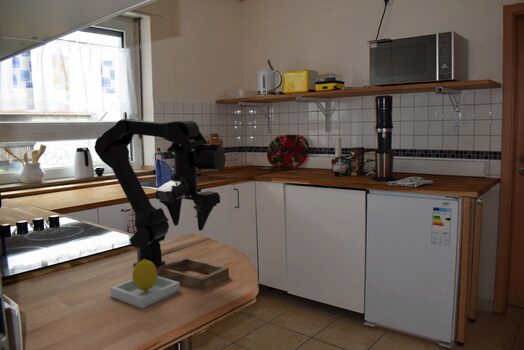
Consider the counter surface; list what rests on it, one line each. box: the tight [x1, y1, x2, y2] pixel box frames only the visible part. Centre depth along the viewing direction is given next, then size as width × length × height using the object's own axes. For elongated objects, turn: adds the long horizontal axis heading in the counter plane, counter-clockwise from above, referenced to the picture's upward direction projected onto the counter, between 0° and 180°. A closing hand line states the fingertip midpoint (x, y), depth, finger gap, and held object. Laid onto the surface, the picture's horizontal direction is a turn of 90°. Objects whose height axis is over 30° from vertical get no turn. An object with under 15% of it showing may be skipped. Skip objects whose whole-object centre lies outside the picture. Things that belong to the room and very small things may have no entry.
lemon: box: [132, 259, 158, 292], centre depth 102 cm, size 6×6×8 cm
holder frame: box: [157, 256, 230, 291], centre depth 113 cm, size 15×10×2 cm, turn 55°
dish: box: [109, 275, 181, 309], centre depth 102 cm, size 11×11×2 cm
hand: (188, 227), depth 115 cm, fingers open, 9 cm apart
